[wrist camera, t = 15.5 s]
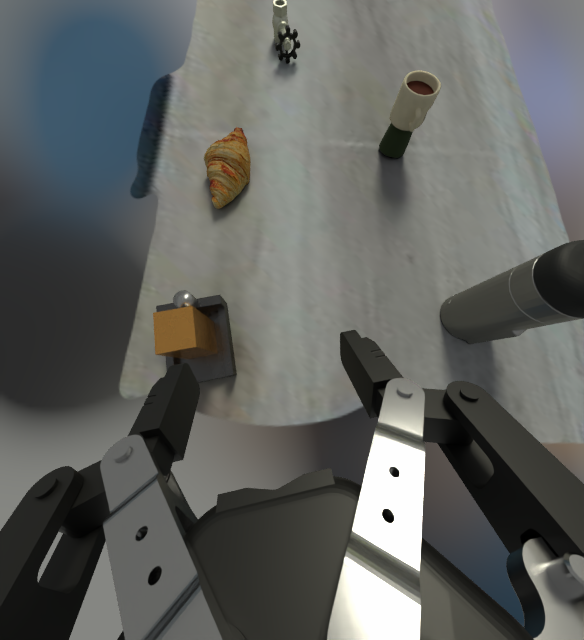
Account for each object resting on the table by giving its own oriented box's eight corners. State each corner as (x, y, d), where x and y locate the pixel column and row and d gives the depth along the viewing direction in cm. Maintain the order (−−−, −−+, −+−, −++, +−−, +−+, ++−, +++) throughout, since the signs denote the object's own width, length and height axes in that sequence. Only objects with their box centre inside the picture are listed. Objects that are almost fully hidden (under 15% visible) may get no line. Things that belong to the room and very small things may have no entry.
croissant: (235, 225, 52) (245, 206, 45) (190, 204, 48) (193, 180, 41) (253, 153, 57) (265, 126, 50) (213, 128, 52) (220, 95, 45)
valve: (267, 36, 63) (276, 65, 61) (265, -2, 57) (275, 28, 54) (290, 34, 64) (299, 62, 61) (290, -4, 57) (301, 26, 55)
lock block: (217, 353, 40) (196, 346, 31) (187, 359, 40) (155, 354, 30) (213, 320, 42) (192, 304, 32) (184, 326, 41) (153, 311, 32)
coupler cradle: (236, 374, 41) (226, 374, 34) (175, 386, 40) (152, 389, 33) (226, 299, 44) (215, 284, 37) (170, 309, 43) (147, 296, 36)
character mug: (407, 169, 53) (445, 105, 41) (378, 167, 53) (407, 103, 40) (403, 134, 56) (437, 64, 43) (375, 132, 56) (401, 62, 43)
